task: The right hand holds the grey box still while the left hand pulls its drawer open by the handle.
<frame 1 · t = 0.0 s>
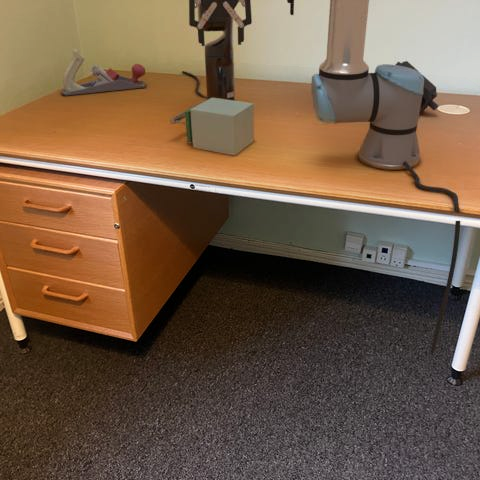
left hand: (221, 44, 125), 29 cm above the table, tool pointing down, fingers open, 8 cm apart
right hand: (313, 14, 166), 28 cm above the table, tool pointing down, fingers open, 13 cm apart
hand plane: (105, 89, 198), on the table
drawer: (204, 122, 149), point 5 cm above the table, slide at 1.0 cm
grey box: (223, 144, 150), on the table
tool: (404, 110, 172), on the table
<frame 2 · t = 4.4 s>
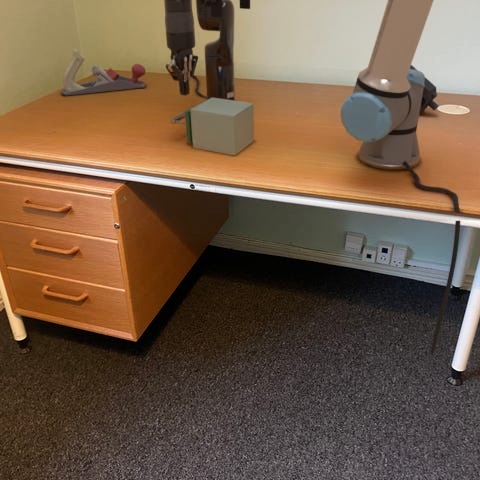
left hand: (184, 94, 148), 13 cm above the table, tool pointing down, fingers closed
right hand: (231, 12, 132), 34 cm above the table, tool pointing down, fingers open, 13 cm apart
nothing on the table moved.
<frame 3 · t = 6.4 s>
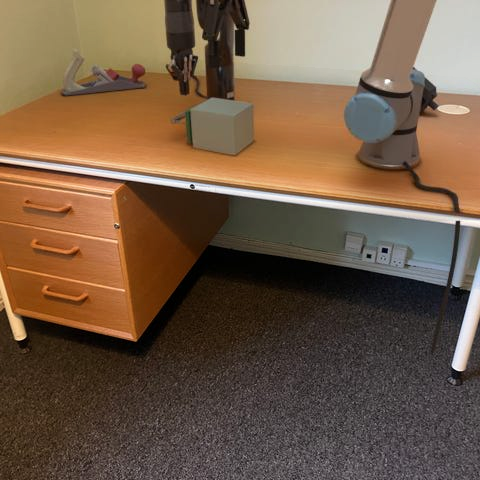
left hand: (184, 94, 148), 13 cm above the table, tool pointing down, fingers closed
right hand: (227, 61, 137), 23 cm above the table, tool pointing down, fingers open, 13 cm apart
nothing on the table moved.
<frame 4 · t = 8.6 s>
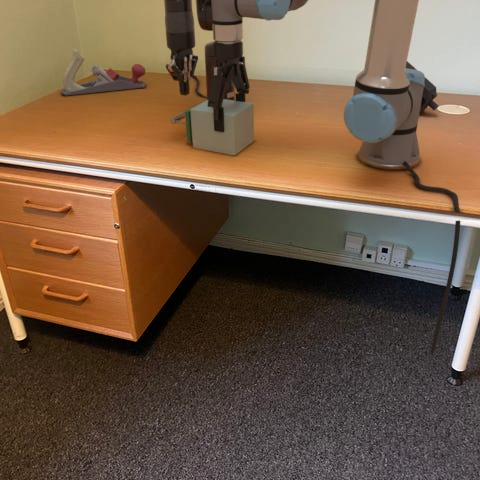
left hand: (184, 94, 148), 13 cm above the table, tool pointing down, fingers closed
right hand: (230, 123, 146), 6 cm above the table, tool pointing down, fingers closed on grey box, 12 cm apart
grey box: (223, 144, 150), on the table, touching right hand
everything else where it was.
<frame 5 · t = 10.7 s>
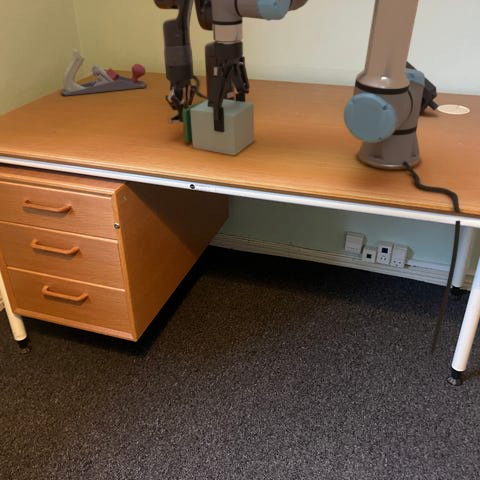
left hand: (183, 122, 153), 4 cm above the table, tool pointing down, fingers closed
right hand: (230, 123, 146), 6 cm above the table, tool pointing down, fingers closed on grey box, 12 cm apart
drawer: (202, 122, 150), point 5 cm above the table, slide at 1.9 cm, touching left hand
grey box: (223, 144, 150), on the table, touching right hand
everything else where it was.
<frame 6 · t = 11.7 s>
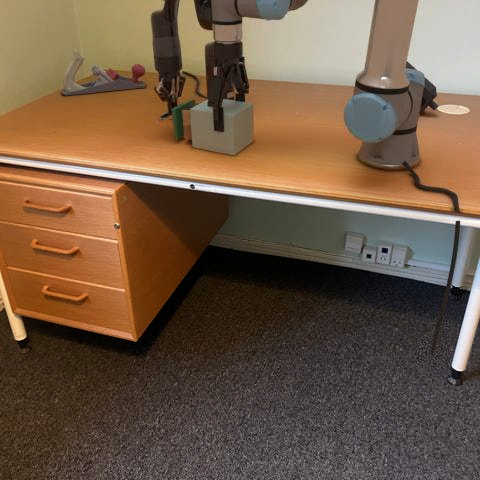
left hand: (173, 114, 153), 6 cm above the table, tool pointing down, fingers closed
right hand: (230, 123, 146), 6 cm above the table, tool pointing down, fingers closed on grey box, 12 cm apart
drawer: (191, 120, 151), point 6 cm above the table, slide at 5.2 cm
grey box: (223, 144, 150), on the table, touching right hand
everything else where it was.
when the right hand's fingers open (6 cm above the table, at t = 13.3 s): grey box stays where it is, on the table.
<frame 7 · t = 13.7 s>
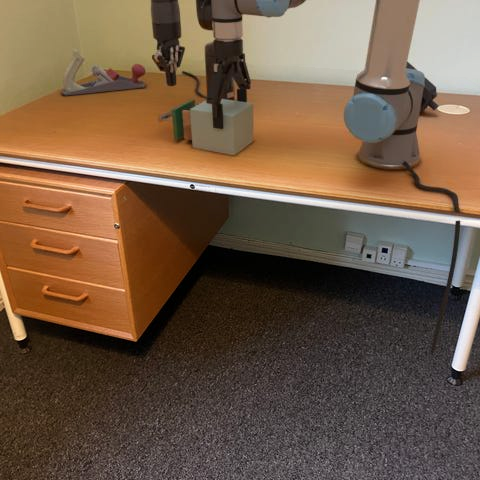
left hand: (171, 85, 148), 15 cm above the table, tool pointing down, fingers closed
right hand: (230, 120, 145), 7 cm above the table, tool pointing down, fingers open, 13 cm apart
grey box: (223, 144, 150), on the table
everything else where it was.
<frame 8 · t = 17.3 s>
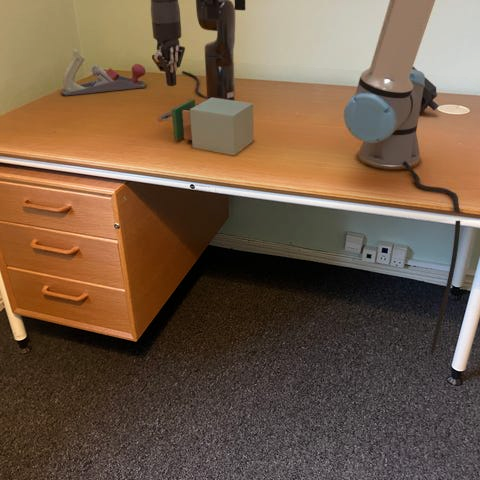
left hand: (171, 85, 148), 15 cm above the table, tool pointing down, fingers closed
right hand: (227, 14, 131), 34 cm above the table, tool pointing down, fingers open, 13 cm apart
nothing on the table moved.
at the end: drawer slide at 5.2 cm; grey box tilted 0°; grey box never tilted more than 1° during the clip; grey box moved 0.1 cm from its start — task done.
